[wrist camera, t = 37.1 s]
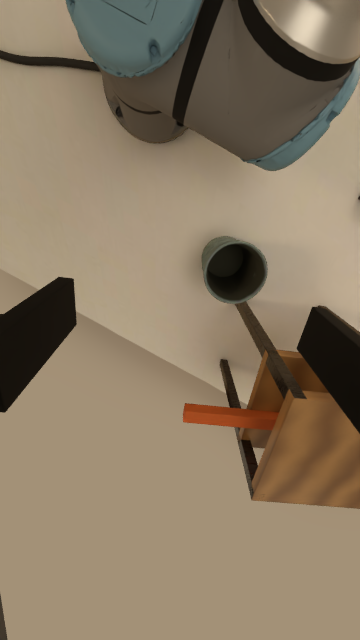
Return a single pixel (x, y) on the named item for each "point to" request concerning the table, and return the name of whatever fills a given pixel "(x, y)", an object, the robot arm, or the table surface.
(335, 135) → the table surface
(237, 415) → the spatula
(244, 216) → the table surface
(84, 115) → the table surface
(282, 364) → the side table
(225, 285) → the green cup
